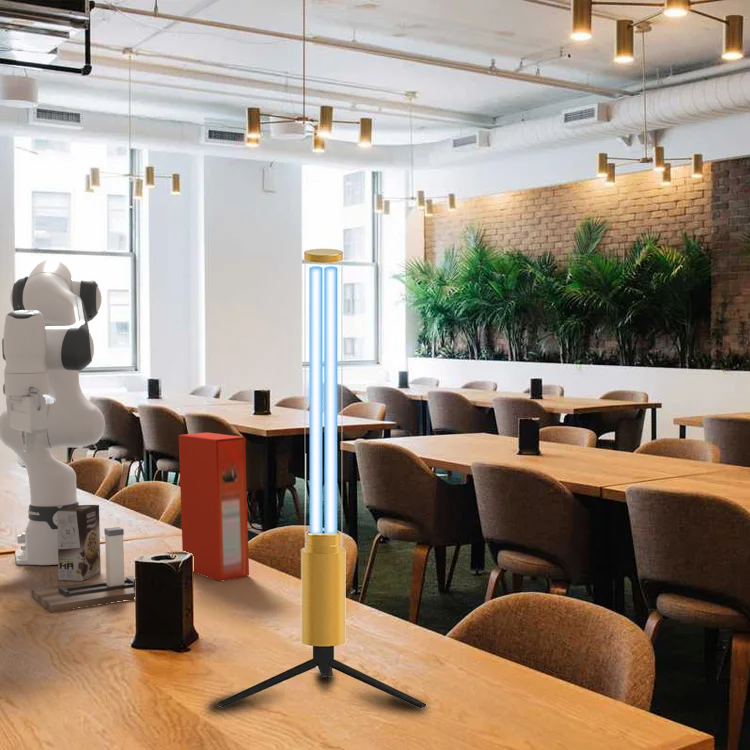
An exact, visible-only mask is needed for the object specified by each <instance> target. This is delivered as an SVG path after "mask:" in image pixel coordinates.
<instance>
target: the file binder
mask: <svg viewBox="0 0 750 750" xmlns="http://www.w3.org/2000/svg"><path fill="white" fill-rule="evenodd" d="M178 452H179V453H178V456H179V482H180V483H179V486H180V490H179V491H180V516H181V518H180V519H181V521H180V522H181V542H182V543H181V547H182V548H181V549H182V552H183V551H186V552H189V553H192V554H193V556H194V572H196V573H195V574H197V573H199V574H202V575H205V576H208V577H211V578H213V579H212V580H214V579H216V580H215V581H217V580H219V581H218V582H220V581H221V582H223V581H222V580H226V581H229V580H228V579H231V580H235V579H234V578H237V579H240V577H242V578H247V577H248V576H249V575H250V564H249V563H250V557H249V529H248V527H249V525H248V501H247V499H248V495H247V490H248V489H247V468H246V467H247V462H246V460H247V459H246V438H245V436H239V435H232V434H231V435H230V434H223V433H214V432H208V431H207V432H195V433H187V434H179V435H178ZM194 572H193V573H194ZM199 574H198V575H199ZM202 575H201V576H202ZM205 576H204V577H205ZM246 576H247V577H246ZM208 577H207V578H208ZM211 578H210V579H211Z"/></svg>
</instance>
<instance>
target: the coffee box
mask: <svg viewBox="0 0 750 750" xmlns="http://www.w3.org/2000/svg"><path fill="white" fill-rule="evenodd" d="M57 519H58V564H57V566H58V568H57V569H58V580H59V581H71V582H72V581H73V582H75V581H76V582H84V581H86V580H87V579H90V578H92V577H94V576H97V575H98V573H99V574H100V572H101V571H102V570H101V567H102V566H101V562H102V561H101V531H100V530H101V529H100V527H101V526H100V504H81V505H80V504H79V505H74V506H71V507H68V508H65V509H62V510H58V511H57ZM85 579H86V580H85ZM83 580H84V581H83Z"/></svg>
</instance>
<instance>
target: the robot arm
mask: <svg viewBox="0 0 750 750" xmlns="http://www.w3.org/2000/svg"><path fill="white" fill-rule="evenodd" d="M10 304H11V308H12V309H13V311H10V312H8V313H7V314H6V316H5V320H4V321H5V322H4V327H3V337H2V340H1V341H2V342H1V347H2V349H1V351H2V359H3V361H5V368H4V371H3V373H4V374H3V375H4V383H3V385H2V392H3V395H5V403H6V404H5V405H6V408H5V409H4V410H3V411H2V413H0V440H1V442H2V443H3V445H5V446H6V447H8V449H11V450H12V451H13V452H14V453H15V454H16V455H17V456H18V457H19V458H20V460H21V461H22V463H23V464H24V466H25V469H26V471H27V476H28V483H29V493H30V495H29V496H30V498H29V499H30V504H29V506H28V511H27V512H28V519H29V520H28V522H27V524H26V526H25V528H24V530H23V532H21V533H20V534H17V540H16V541H17V545H21V546H20V548H18V549H16V550H15V551H14V552H15V553H14V557H15V564H16V565H33V566H34V565H35V566H51V565H52V566H53V565H55V566H56V565H58V519H57V511H58V510H62V509H65V508H68V507H71V506H74V505H80V503H79V501H78V496H77V495H78V493H77V474H76V471H75V470H74V468H73V467H72V466H70V465H68V463H65V462H63V461H61V460H58V459H56V458H55V457H54V456H53V454H52V451H51V449H55V448H61V449H62V448H81V447H85V446H89V445H94V444H97V443H99V441H100V440H101V439H102V437H103V435H104V433H105V430H106V421H105V416H104V414H103V412H102V411H101V409H100V408H99V407H98V406H97V405H95V404H93V403H92V402H91V401H89V399H88V398H87V397H86V396H85V394H84V393H83V391H82V389H81V385H80V375H79V374H80V373H79V372H81V371H83V370H85V368H87V367H88V366H89V365H90V364H91V363H92V362H93V358H94V354H95V346H94V344H95V343H94V340H93V336H92V335H91V333H90V329H89V324H88V323H89V322H90V321H92V320H93V319H94V318H96V316H97V315H98V313H99V309H100V308H101V305H102V293H101V291H100V288H99V284H98V283H97V282H96V281H95V280H94V279H91V278H85V277H82V278H79V277H78V278H76V277H73V276H72V274H71V271H70V269H69V268H68V267H67V266H66V265H65V264H64V263H63V262H61V261H58V260H53V259H48V260H44V261H41V262H40V263H38V264H37V265H36V266H35V267H34V269H32V270H31V272H30V273H29V275H28V276H25V277H22V278H19V279H17V281H16V282H14V283H13V286H12V289H11V291H10ZM45 395H47V396H49V397H51V398H53V399H55V401H54V402H53V403H47V400H46V398H45Z"/></svg>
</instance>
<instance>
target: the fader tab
mask: <svg viewBox="0 0 750 750" xmlns="http://www.w3.org/2000/svg"><path fill="white" fill-rule="evenodd" d="M124 531H125V530H124V528H122V527H120V526H116V527H115V526H114V527H107V528H104V531H103V532H104V541H105V542H104V543H105V545H104V546H105V574H106V575H105V577H106V578H105V579H106V585H108V586H109V587H111V586H118V585H124V577H125V558H124V557H125V554H124V553H125V552H124V548H125V547H124V535H125V532H124Z"/></svg>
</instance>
